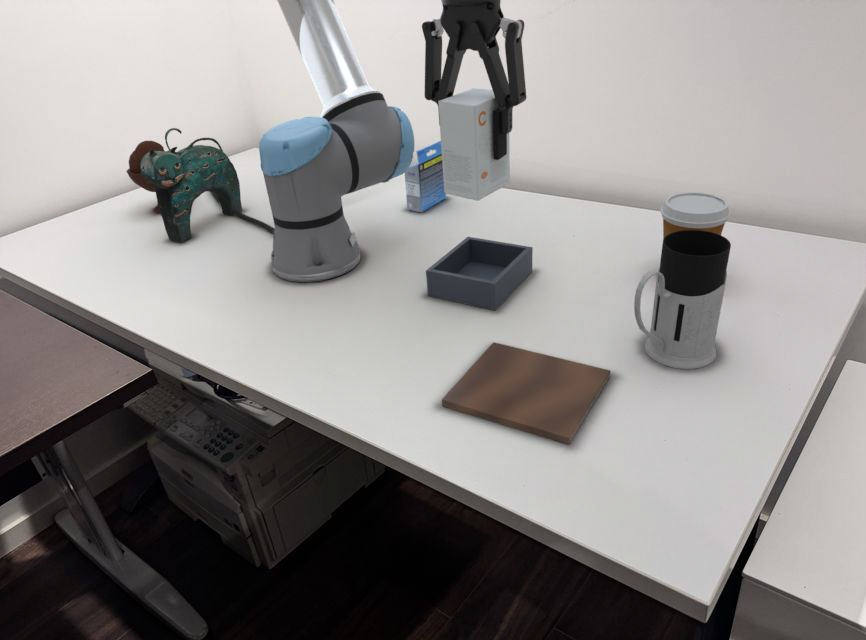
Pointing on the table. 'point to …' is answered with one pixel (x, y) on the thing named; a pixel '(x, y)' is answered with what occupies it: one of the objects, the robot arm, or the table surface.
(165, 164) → the ceramic cat
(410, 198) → the label tape box
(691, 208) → the disposable coffee cup
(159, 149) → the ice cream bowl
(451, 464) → the table surface
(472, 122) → the small box
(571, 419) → the board
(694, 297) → the glass holder
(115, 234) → the table surface
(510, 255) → the bin
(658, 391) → the table surface
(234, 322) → the table surface
